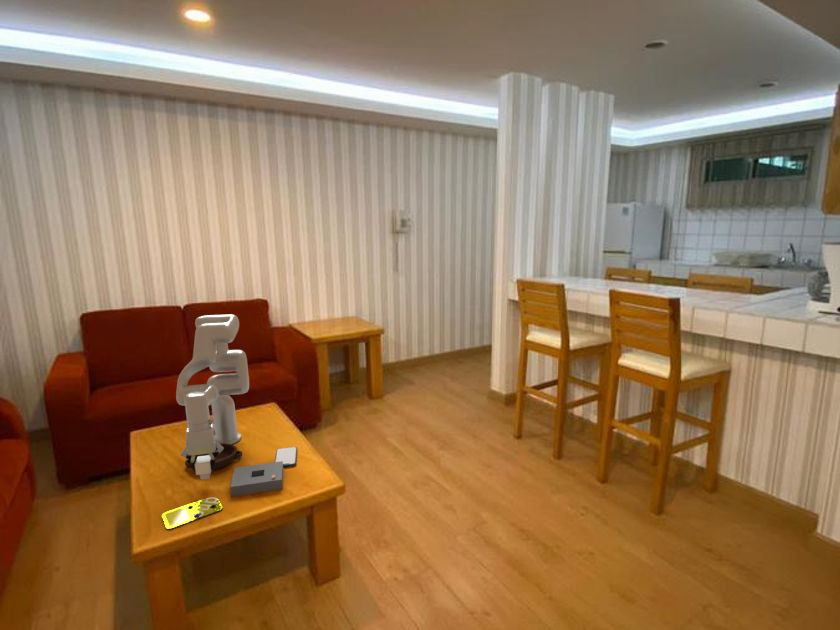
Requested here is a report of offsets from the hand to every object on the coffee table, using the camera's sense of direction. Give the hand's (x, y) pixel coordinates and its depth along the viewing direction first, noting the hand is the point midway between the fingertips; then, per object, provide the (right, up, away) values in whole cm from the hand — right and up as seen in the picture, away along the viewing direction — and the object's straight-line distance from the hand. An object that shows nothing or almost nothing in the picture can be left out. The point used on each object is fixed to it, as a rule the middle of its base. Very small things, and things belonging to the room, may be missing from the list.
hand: (204, 468), depth 173 cm
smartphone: (+24, -4, +22) cm, 33 cm away
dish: (-5, -4, +19) cm, 20 cm away
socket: (+19, -7, +4) cm, 21 cm away
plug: (0, -4, +1) cm, 4 cm away
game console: (+2, -11, -14) cm, 18 cm away
